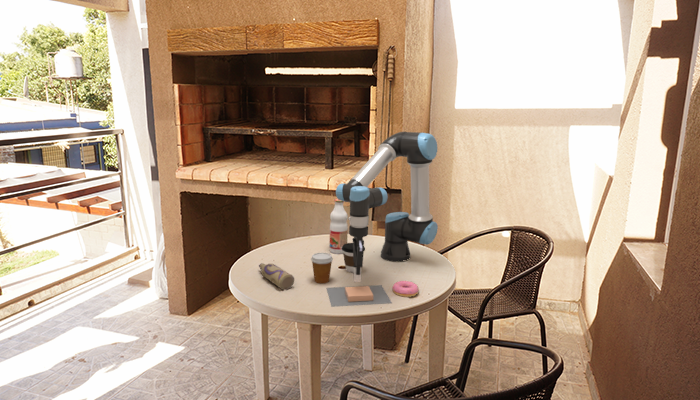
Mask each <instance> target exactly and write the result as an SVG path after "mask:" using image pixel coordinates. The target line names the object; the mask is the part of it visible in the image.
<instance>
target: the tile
mask: <svg viewBox="0 0 700 400" xmlns="http://www.w3.org/2000/svg"><path fill="white" fill-rule="evenodd" d="M358 286H359V287H351V286H344V287H345V294H346V297H347V300H348V302H356V301H372V300H373V293H372V291H371V290H370V288H369V286H370V285H358Z"/></svg>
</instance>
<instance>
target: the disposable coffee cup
mask: <svg viewBox="0 0 700 400" xmlns="http://www.w3.org/2000/svg"><path fill="white" fill-rule="evenodd" d="M310 260H311V263H312V269H313V271H312V273H313V277H314V278H313V279H314V282H315V283H317V284H327V283H329V281H330V278H331V277H330V276H331V271H332V264H333V263H332V262H333V260H334V257H333V256H332V254H330V253H328V252H316V253H313V254H312V255H311V257H310Z"/></svg>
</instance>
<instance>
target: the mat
mask: <svg viewBox="0 0 700 400" xmlns="http://www.w3.org/2000/svg"><path fill="white" fill-rule="evenodd" d="M359 286H360V285H356V286H355V285H353V286H350V287H359ZM368 286H369V288H370V290H371V291H372V293H373V300H372V301H356V302H348V300H347V297H346V294H345V287H346V286H337V287H336V286H335V287H325V288H326V292H327V295H328V300H329V303H330V307H331V308H333V307H334V308H335V307H349V306H351V307H352V306H369V305H387V304H388V305H389V304H393V302H392V301H391V299H390V296H389V295H388V293H387V292H386V290H385V289H384V287H383V285H382V284H378V285H376V284H375V285H374V284H373V285H368Z"/></svg>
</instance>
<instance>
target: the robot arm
mask: <svg viewBox="0 0 700 400" xmlns="http://www.w3.org/2000/svg"><path fill="white" fill-rule="evenodd" d="M437 153H438V142H437V139H436V138H435V136H434V135H433V134H431V133H426V132H418V131H417V132H416V131H415V132H413V131H399V132H396V133H394V134H392V135H390V136H389V137H387V138H386V139H384V140H383V141H382V142H381V143H380V144H379V145H378V147H377V151H376V152H375V153H374V154H373V155H372V156H371V157H370V158H369V159H368V161H367V162H366V163H365V164H364V165H363V166H362V167H361V168H360V169H359V170H358V171H357V172H356V173H355V174H354V175H353V177H352V178H351V179H350V180H349V181H348V182H347V183H339V184H338V185H337V186H336V188H335V196H336V199H339V200H341V201H344V202H345V203H349V217H348V218H347V221H348V220H349V228H348V233H349V234H348V235H349V236H351V237H353V238H352V240H351V241H352V243H353V262H354V265H353V267H354V273H353V282H354V283H359V282H360V283H361V282H362V268H363V264H364V252H365V251H364V247H365V240H364V239H363V238H364V237H367V236H368V235H369V218H370V217H369V214H370V213H369V210H370V209H374V208H377V207H381V206H382V205H385V204H386V203H387V201H388V193H387V191H386V190H385V188H383V187H378V186H377V187H374V188H373V187H369V186H370V184H371V183H372V182H373V181H374V180H375V179H376V178H377V177H378V175H379V174H380V173H382V171H383V170H384V169H385V167H387V165H388V164H389V163H390V162H394V161H395V159H396V158H399V157H402V158H403V157H404V158H406V163H407V164H408V165H409V166H410V203H411V204H410V206H411V207H410V208H411V209H410V211H411V213H409V212H406V211H397V212H396V211H395V212H390V213H388V214H386V216H385V220H384V221H385V222H384V223H385V226H384V243H383V245H382V248H381V251H380V258H382V259H383V260H385V261H388V260H389V262H396V261H400V262H404V261H403V260H406V261H408V260H407V259H409V258H410V259H411V251H410V247H409V244H408V243H409V242H412V243H416V244H420V245H431V244H432V243H433V241H434V240H435V238H436V237H437V233H438V226H439V225H438V223H437V222H436V221H434V219H433V217H434V216H433V215H432V214H431V213H430V165H431V164H432V163H433V160H434V159H435V158H436V157H437V155H438V154H437ZM363 245H364V246H363ZM410 259H409V260H410Z"/></svg>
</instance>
